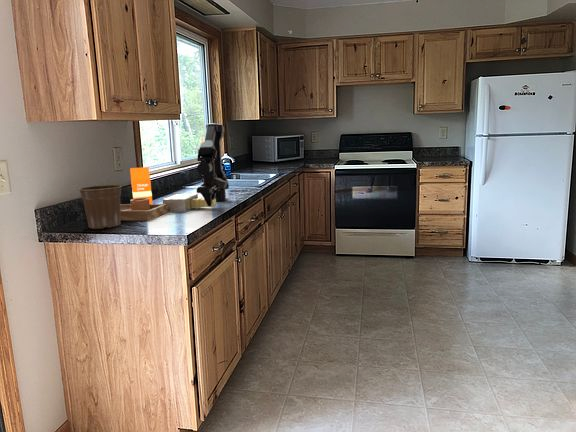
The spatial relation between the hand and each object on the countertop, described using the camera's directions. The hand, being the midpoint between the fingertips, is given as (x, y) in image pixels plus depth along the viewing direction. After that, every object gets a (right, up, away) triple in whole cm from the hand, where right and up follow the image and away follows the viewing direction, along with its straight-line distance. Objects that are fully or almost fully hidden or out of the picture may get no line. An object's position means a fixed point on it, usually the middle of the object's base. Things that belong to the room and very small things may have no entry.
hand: (210, 205), depth 215 cm
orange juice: (-36, -1, +11) cm, 37 cm away
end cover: (-6, -1, +1) cm, 6 cm away
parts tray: (-34, -5, -12) cm, 36 cm away
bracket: (-33, -5, -11) cm, 36 cm away
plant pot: (-38, -9, -31) cm, 50 cm away
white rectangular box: (-15, -2, +3) cm, 15 cm away
